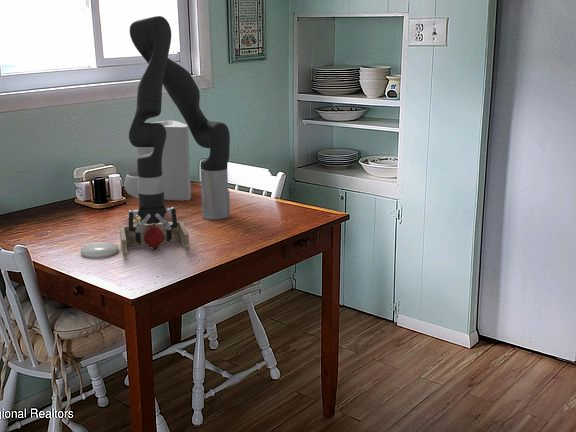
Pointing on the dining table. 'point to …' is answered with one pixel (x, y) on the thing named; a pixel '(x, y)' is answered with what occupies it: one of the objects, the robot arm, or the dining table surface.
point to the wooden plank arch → (177, 233)
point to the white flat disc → (99, 250)
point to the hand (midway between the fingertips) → (153, 242)
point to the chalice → (133, 184)
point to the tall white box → (174, 161)
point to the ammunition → (135, 220)
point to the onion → (153, 236)
